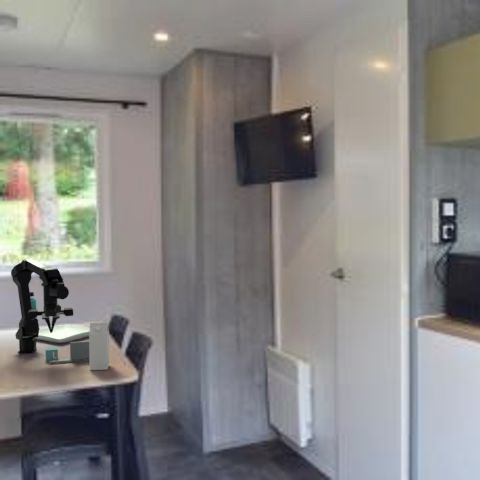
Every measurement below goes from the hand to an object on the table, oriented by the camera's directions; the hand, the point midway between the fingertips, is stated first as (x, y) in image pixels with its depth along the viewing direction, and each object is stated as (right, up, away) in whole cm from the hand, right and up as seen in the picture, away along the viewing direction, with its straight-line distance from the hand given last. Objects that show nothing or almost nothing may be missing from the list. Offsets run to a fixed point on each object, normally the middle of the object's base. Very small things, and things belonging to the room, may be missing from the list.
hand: (51, 332), depth 261 cm
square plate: (-8, -10, +45) cm, 46 cm away
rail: (+11, -12, -2) cm, 16 cm away
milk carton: (+24, -13, -12) cm, 30 cm away
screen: (+15, -11, 0) cm, 18 cm away
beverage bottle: (-32, -8, +65) cm, 72 cm away
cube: (0, -12, +1) cm, 12 cm away
